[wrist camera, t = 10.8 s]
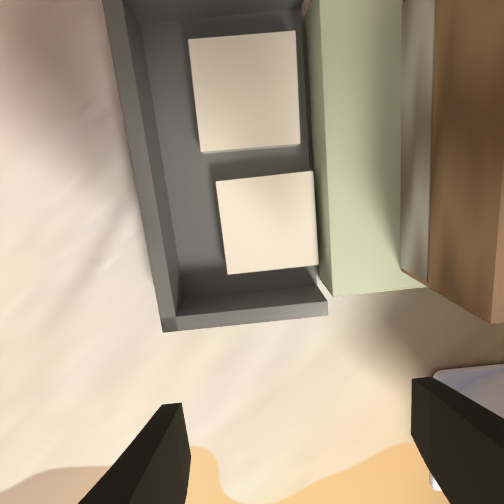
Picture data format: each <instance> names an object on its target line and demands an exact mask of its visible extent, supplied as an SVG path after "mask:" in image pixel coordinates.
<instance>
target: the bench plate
mask: <svg viewBox="0 0 504 504" xmlns="http://www.w3.org/2000/svg"><path fill="white" fill-rule="evenodd" d="M402 4H403V0H311V3H310V5H309V8H308V11H307V13H306V16H305V23H306V42H307V60H308V78H309V96H310V114H311V132H312V150H313V169H314V187H315V205H316V223H317V241H318V259H319V277H320V280H321V281H322V283H323V284H324V285H325V287H326V288H327V290H328V291H329V292H330V294H331V295H332V296H333V297H337V296H347V295H356V294H366V293H375V292H385V291H395V290H404V289H414V288H424V287H427V286H425V285H424V284H422V283H420V282H419V281H417V280H415V279H414V278H412V277H410V276H409V275H407V274H405V273H404V272H402V271H401V268H400V204H401V47H402Z"/></svg>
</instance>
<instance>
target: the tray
mask: <svg viewBox="0 0 504 504" xmlns="http://www.w3.org/2000/svg"><path fill="white" fill-rule="evenodd" d="M102 2H103V7H104V13H105V18H106V24H107V29H108V34H109V40H110V45H111V51H112V56H113V62H114V67H115V73H116V78H117V84H118V89H119V95H120V100H121V106H122V111H123V117H124V122H125V128H126V133H127V139H128V144H129V150H130V155H131V161H132V166H133V172H134V177H135V183H136V188H137V194H138V199H139V205H140V210H141V216H142V221H143V227H144V232H145V238H146V243H147V249H148V254H149V259H150V265H151V270H152V276H153V281H154V287H155V292H156V298H157V303H158V309H159V314H160V320H161V325H162V331H163V332H173V331H182V330H192V329H202V328H211V327H221V326H231V325H240V324H250V323H259V322H269V321H279V320H288V319H298V318H308V317H317V316H327V315H328V303H327V300H326V298H325V297H324V295H323V294H322V292H321V291H320V289H319V288H318V286H317V282H316V265H312V266H303V267H294V268H285V269H275V270H266V271H257V272H248V273H239V274H229V275H228V273H227V265H226V258H225V250H224V242H223V235H222V227H221V219H220V212H219V204H218V196H217V188H216V181H224V180H234V179H243V178H252V177H261V176H270V175H279V174H288V173H297V172H307V171H310V161H309V143H308V126H307V109H306V91H305V74H304V57H303V39H302V22H301V5H302V2H303V0H102ZM284 31H296V54H297V77H298V100H299V122H300V144H299V145H297V146H291V147H279V148H267V149H255V150H243V151H231V152H219V153H207V154H203V153H202V152H201V150H200V141H199V132H198V124H197V115H196V106H195V97H194V88H193V79H192V71H191V62H190V53H189V44H188V39H199V38H211V37H223V36H235V35H247V34H260V33H272V32H284Z"/></svg>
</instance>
